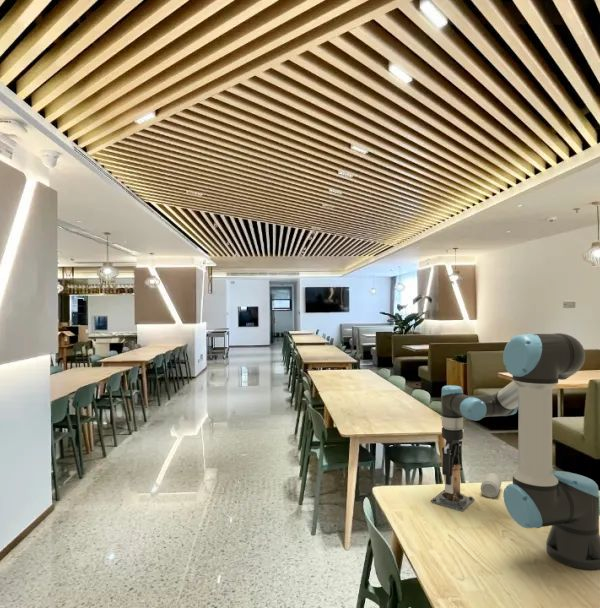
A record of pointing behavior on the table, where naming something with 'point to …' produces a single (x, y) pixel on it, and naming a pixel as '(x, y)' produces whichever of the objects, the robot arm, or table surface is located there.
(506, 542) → the table surface
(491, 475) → the beverage can
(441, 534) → the table surface
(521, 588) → the table surface
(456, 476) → the copper cylinder
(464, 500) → the flange
